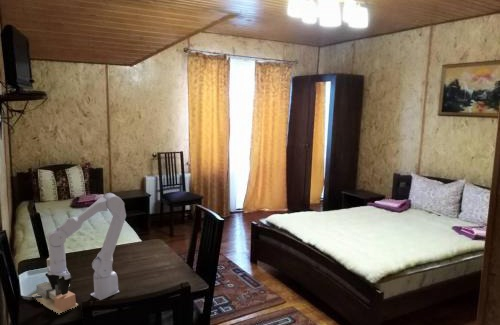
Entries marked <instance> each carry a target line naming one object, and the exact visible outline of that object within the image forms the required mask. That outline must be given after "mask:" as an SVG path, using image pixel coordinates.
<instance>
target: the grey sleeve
mask: <svg viewBox="0 0 500 325" xmlns="http://www.w3.org/2000/svg"><path fill="white" fill-rule="evenodd" d="M49 290H52V287H51V284H50V283H49V281H44V282H42V283H39V284H37V285H36V294H37V295H41V296H42V298H44V299H46V300H47V299H50V298H49V297H47V291H49ZM54 290H55V289H54Z"/></svg>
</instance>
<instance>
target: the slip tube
mask: <svg viewBox="0 0 500 325" xmlns="http://www.w3.org/2000/svg"><path fill="white" fill-rule="evenodd" d="M59 294H61V290H60V286H59V284H56V285H55V290H49V291H47V297H49V298H51V299H52V300H54V296H57V295H59Z"/></svg>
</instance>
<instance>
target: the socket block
mask: <svg viewBox="0 0 500 325" xmlns="http://www.w3.org/2000/svg"><path fill="white" fill-rule="evenodd" d="M76 300H77V299H76V294H75V293H74V292H71V291H70V290H68V293H67V294H65V295H62V294H59V295H57V296H54V302H55V308H57V309H58V310H60V311H63V310H65V309H68V308H70V307H72V306H75V305H76V303H77V301H76Z"/></svg>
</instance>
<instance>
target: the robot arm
mask: <svg viewBox="0 0 500 325" xmlns="http://www.w3.org/2000/svg"><path fill="white" fill-rule="evenodd" d="M108 211H109V212H110V214H111V216H112V217H111V221H110V224H109V226H108V230H107V233H106V235H105V239H104V241H103V243H102V247H101V250H100V251H99V252H98V253H97V255H96V257H95V258H94V259H93V260H92V262H91V267H92V269H93V270H94V272H93V274H92V276H93V289H94V290H93V292H91V293H90V296H92V297H93V298H95V299H97V300H98V301H99V300H100V301H101V300H104V299H107V298H108V297H111V296H113V295H116V294H118V293H120V290H119V278H118V275H117V272H115V270H113V263H114V259H113V258H114V253H115V250H116V246H117V244H118V241H119V237H120V235H121V232H122V230H123V227H124V223H125V221H126V218H127V213H126V212H127V211H126V207H125V202H124V200H122V198H121V197H120V196H117V195H116V194H114V193H112V192H107V193H104V194H103V196H101V197H99V198H98V199H97V200H96V201H95V202H94V203H92V204H91V205H90V206H89V207H88V208H86V209H84V211H83V212H81V213H80V214H79V215H78V216H71V217H68V218H66V219H65V220H66V221H65V222H63V223H62V224H60V225H59V226H58V225H57V226H56V227H55V229H52V230H50V231H49V232H48V233H47V236H46V239H47V241H48V248H49V249H48V255H49V256H48V258H49V257H50V266H47V265H46V267H47V272H45V277H46V278H47V279H48V283H49V282H50V284H51V287H52V290H54V289H55V285H56V284H59V286H60V290H61V294H62V295H65V294H67V293H68V291H69V289H70V284H71V281H72V280H73V276H72V275H71V273H70V272H69V270H68V268H67V260H66V258H67V257H66V247H65V243H66V241H67V239H69V237H71V236H72V235H74V234H75V233H76V232H77V231H79V230H80V229H82V226H83V224H84V222H86V221H88V220H89V219H91V218H92V217H93V216H95V215H96V214H98V213H99V212H108ZM48 271H49V272H48ZM59 276H62V278H60V279H59Z"/></svg>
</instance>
